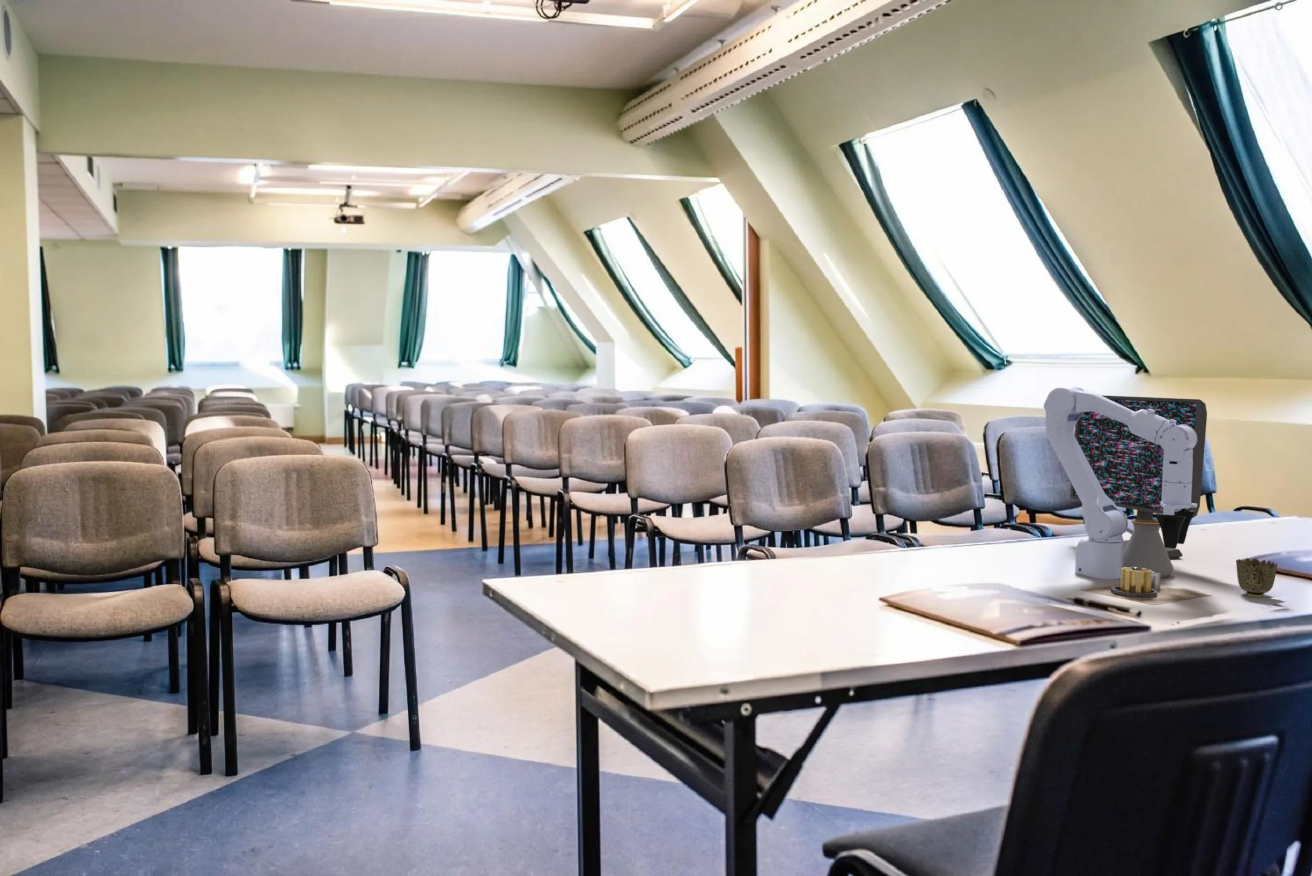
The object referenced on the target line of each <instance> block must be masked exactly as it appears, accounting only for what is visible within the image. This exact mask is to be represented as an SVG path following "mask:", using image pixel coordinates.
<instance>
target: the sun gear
mask: <svg viewBox="0 0 1312 876" xmlns="http://www.w3.org/2000/svg"><path fill="white" fill-rule="evenodd" d="M1160 575H1161V574H1160V573H1155V572H1154V571H1152V574H1151V589H1154V590H1157V589H1158V588H1160V586H1161V578H1160Z"/></svg>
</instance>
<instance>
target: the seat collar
mask: <svg viewBox="0 0 1312 876" xmlns="http://www.w3.org/2000/svg"><path fill="white" fill-rule="evenodd" d="M1118 590H1120V586H1113V587H1112V588H1111V593H1113V594H1115V595H1120V596H1125V597H1134V598H1152V597H1156V596H1157V591H1156V590H1154V589H1151V593H1129V592H1123V591H1118Z"/></svg>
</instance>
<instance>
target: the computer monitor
mask: <svg viewBox="0 0 1312 876" xmlns="http://www.w3.org/2000/svg"><path fill="white" fill-rule="evenodd" d="M1101 396H1103V397H1105V398H1107V399H1109V400H1111V401H1113V402H1116V403H1118V404H1120V405H1122V406H1124V407H1126V408H1128V409H1130V410H1132V411H1134V412H1136V411H1139V410H1141V409H1145V410H1148V409H1152V410H1154V411H1155V414H1156V415H1159V416H1161V417H1163V418H1166V419H1168V420H1170V419H1174V420H1176V425H1180V424H1186V425H1188V426H1189V427H1191V428H1192V429H1193V430H1194V431H1195V432H1196V434H1197V443H1196V445H1195V447H1194V448H1193V469H1192V492H1191V503H1195V504H1197V507H1196V508H1193V507H1191V508H1188V509H1186V510H1192V511H1195V515H1194V516H1193V518H1192V519H1194V518H1195V517H1197V516H1198V513H1199V510H1200V508H1201V499H1202V498H1201V497H1202V485H1203V484H1202V482H1203V472H1204V460H1205V459H1204V457H1205V446H1206V434H1207V433H1206V432H1207V420H1208V411H1207V405H1206V403H1205V402H1204V401H1203V400H1201V399H1200V398H1199V399H1198V398H1176V397H1175V398H1174V397H1153V396H1151V397H1149V396H1148V397H1147V396H1127V395H1126V396H1125V395H1124V396H1123V395H1122V396H1121V395H1102V394H1101ZM1074 436H1075V438H1076V440H1077V442H1078V444H1079V445H1080V447H1081V449H1082V451H1083V453H1084V455H1085V457H1086V459H1087V461H1088V463H1089V464H1090V466H1091V468H1092V470H1093V472H1094V474H1095V476H1096V478H1097V480H1098V482H1099V483H1100V485H1101V487H1102V489H1103V491H1104V493H1105V495H1107V496H1108V497H1109V498H1110V499H1111V500H1112V501H1113V502H1114V503H1115V505H1116V507H1117V508H1122V509H1123V508H1125V509H1129V510H1136V517H1135V518H1136V519H1135V520H1153V521H1154V519H1153V518H1154V517H1153V516H1154V514H1157V513H1163V507H1162V506H1161V505H1160V502H1161V501H1162V478H1163V459H1164V450H1163V448H1162V447H1161V445H1157V444H1155V443H1153V442H1151V441H1148V440H1146V439H1144V438H1142V437H1139V436H1137V435H1135V434H1133V433H1131V432H1130V429H1129V427H1128V425H1127V424H1124V423H1122V422H1119V421H1117V420H1114V419H1112V418H1109V417H1107V416H1104V415H1102V414H1099V413H1096V412H1093V411H1089V412H1085V413H1084V414H1083V415H1082V416H1081V417H1080V418H1079V420H1078V421H1077V423H1076V425H1075V428H1074ZM1191 450H1192V449H1191ZM1069 494H1070V495H1069V498H1070V499H1073V500H1078V501H1081V500H1080V498H1079V497H1078V495H1077V493H1076V491H1075V489H1074V487H1073V485H1072V483H1071V482H1070V493H1069ZM1128 541H1129V539H1126V540H1123V551H1124V549H1125V547H1126V545H1127V543H1128ZM1166 551H1167V553H1168V556H1169V558H1170V560H1171V559H1172V560H1174V559H1180V558H1182V557H1183V556H1184V554H1183V553H1182V551H1181V550H1180V549H1179V548H1166Z"/></svg>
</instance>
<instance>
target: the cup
mask: <svg viewBox="0 0 1312 876" xmlns="http://www.w3.org/2000/svg"><path fill="white" fill-rule="evenodd" d="M1235 563H1236V564H1235V565H1236V575H1237V583H1238V586H1239V587H1240V589H1242V590H1243V591H1244V592H1245V593H1244V595H1245V596H1248V597H1255V598H1264V597H1266V593H1269V592H1270V591H1272V588H1273V586H1274V583H1275V579H1276V575H1277V569H1278V568H1277V567H1278V562H1276V563H1275V562H1274V561H1271V560H1268V561H1267V562H1266V560H1265V559H1263V560H1261V561H1260V560H1259V559H1258V558H1253V559H1251V560H1250V558H1247V557H1246V558H1245V560H1244V561H1241V559H1239V558H1238V559H1236V560H1235Z"/></svg>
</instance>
